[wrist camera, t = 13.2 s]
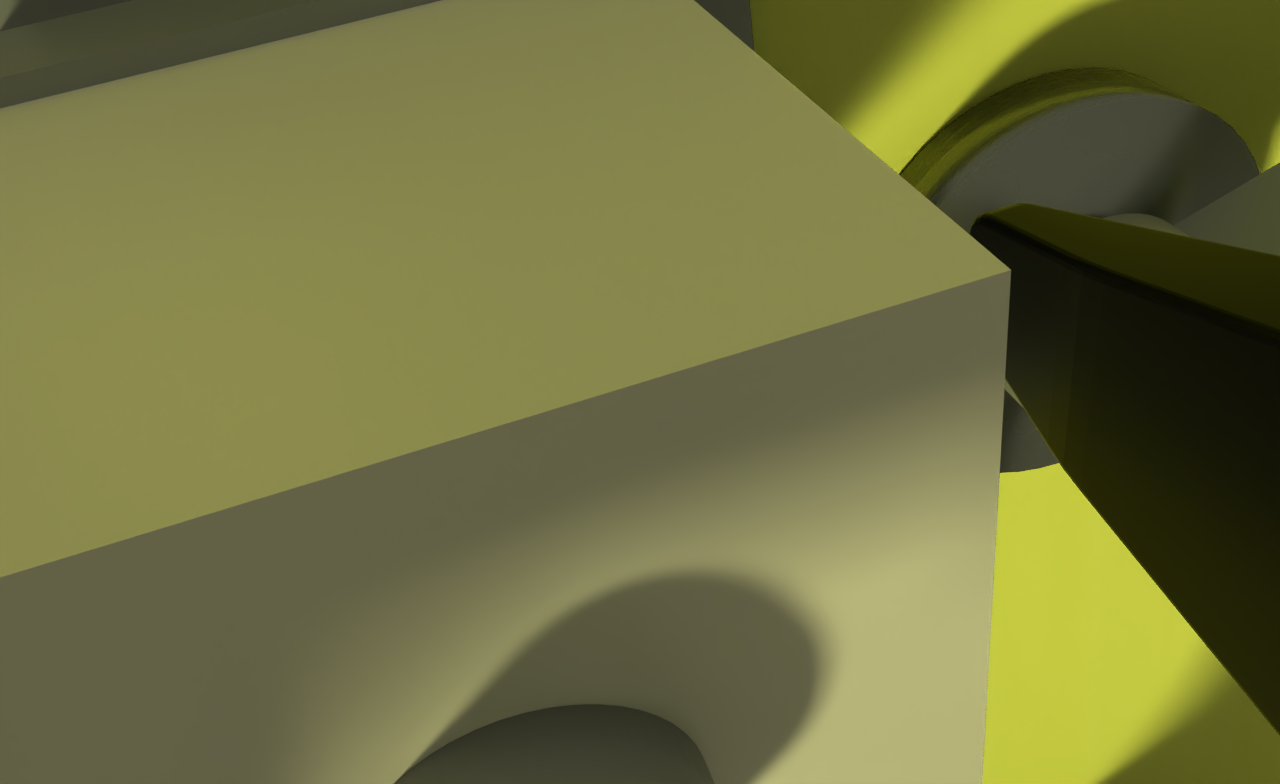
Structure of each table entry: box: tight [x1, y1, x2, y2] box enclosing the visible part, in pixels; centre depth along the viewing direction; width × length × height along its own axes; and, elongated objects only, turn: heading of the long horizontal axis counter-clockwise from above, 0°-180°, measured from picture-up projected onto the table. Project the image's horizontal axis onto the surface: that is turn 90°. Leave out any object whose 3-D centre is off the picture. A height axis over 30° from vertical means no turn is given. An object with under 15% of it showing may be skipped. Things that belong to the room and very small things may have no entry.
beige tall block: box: [0, 0, 1011, 784], centre depth 8 cm, size 5×5×8 cm
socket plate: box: [0, 0, 754, 51], centre depth 11 cm, size 10×8×1 cm
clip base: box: [900, 68, 1259, 473], centre depth 14 cm, size 5×5×1 cm
